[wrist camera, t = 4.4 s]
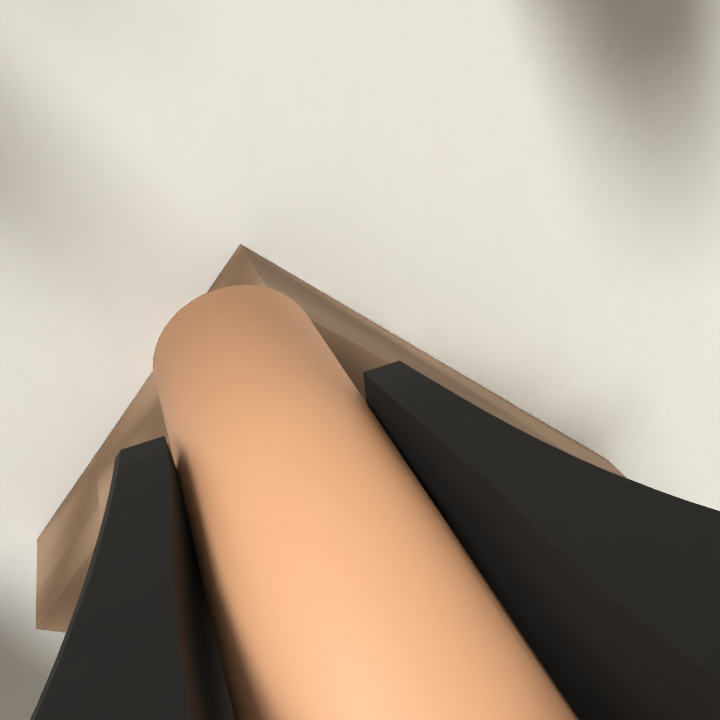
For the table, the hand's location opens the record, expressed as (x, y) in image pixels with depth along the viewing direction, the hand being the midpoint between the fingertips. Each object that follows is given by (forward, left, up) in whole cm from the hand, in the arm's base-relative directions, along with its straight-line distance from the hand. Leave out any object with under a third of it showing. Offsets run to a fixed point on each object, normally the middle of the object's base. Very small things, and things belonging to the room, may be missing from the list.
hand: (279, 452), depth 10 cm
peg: (0, 0, -3) cm, 3 cm away
